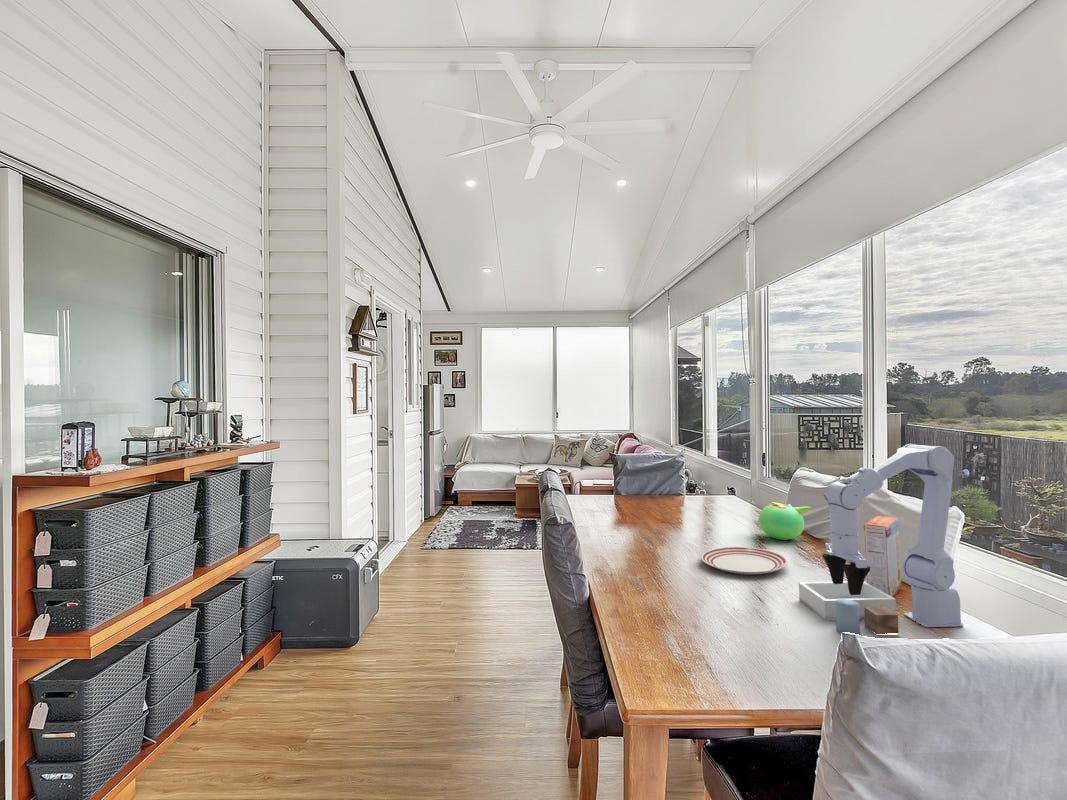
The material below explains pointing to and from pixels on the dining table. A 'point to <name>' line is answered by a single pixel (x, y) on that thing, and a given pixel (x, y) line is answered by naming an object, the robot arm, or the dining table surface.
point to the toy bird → (782, 520)
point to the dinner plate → (744, 560)
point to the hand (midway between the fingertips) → (846, 588)
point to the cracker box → (883, 554)
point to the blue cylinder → (847, 616)
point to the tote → (826, 593)
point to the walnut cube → (881, 620)
